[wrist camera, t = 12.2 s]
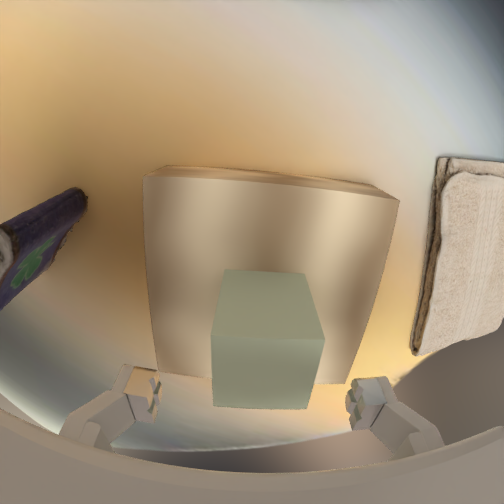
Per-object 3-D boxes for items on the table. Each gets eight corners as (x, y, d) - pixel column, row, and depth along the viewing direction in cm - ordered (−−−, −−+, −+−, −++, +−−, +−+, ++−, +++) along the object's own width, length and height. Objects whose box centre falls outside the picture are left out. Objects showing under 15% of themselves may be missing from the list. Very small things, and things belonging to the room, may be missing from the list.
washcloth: (518, 158, 18) (540, 165, 15) (490, 322, 25) (504, 337, 22) (424, 153, 19) (446, 158, 16) (405, 345, 25) (416, 366, 23)
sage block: (223, 333, 18) (213, 406, 13) (224, 269, 17) (210, 335, 11) (294, 336, 19) (306, 409, 13) (304, 273, 17) (325, 339, 11)
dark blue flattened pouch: (47, 273, 23) (-25, 341, 13) (28, 251, 22) (-49, 310, 12) (95, 202, 20) (-2, 261, 10) (71, 176, 19) (-32, 219, 9)
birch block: (173, 331, 25) (158, 371, 20) (168, 164, 19) (142, 176, 15) (332, 343, 25) (344, 383, 20) (369, 183, 20) (399, 200, 15)
